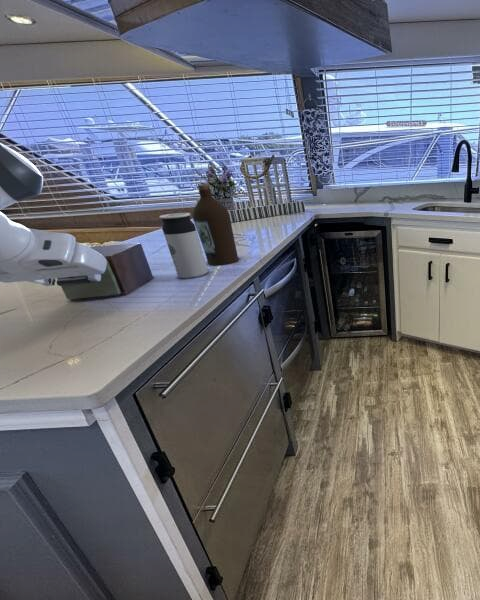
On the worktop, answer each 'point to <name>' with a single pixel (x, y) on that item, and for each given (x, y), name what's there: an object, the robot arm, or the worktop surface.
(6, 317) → the worktop surface
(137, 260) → the storage box
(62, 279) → the drawer
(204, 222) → the olive oil
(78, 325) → the worktop surface
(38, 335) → the worktop surface
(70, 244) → the robot arm
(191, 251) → the travel mug
